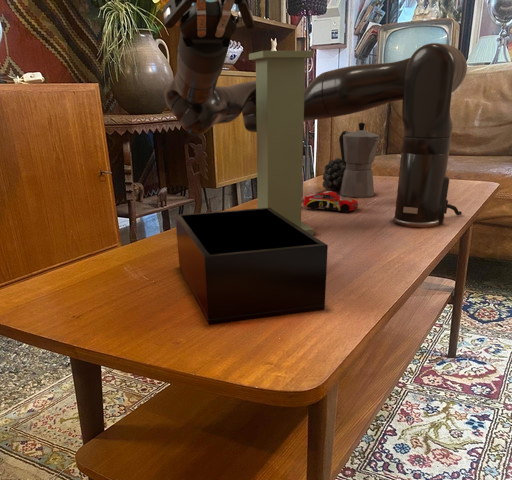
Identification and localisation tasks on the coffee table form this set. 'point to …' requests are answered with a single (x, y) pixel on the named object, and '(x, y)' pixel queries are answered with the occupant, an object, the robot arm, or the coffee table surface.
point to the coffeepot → (358, 162)
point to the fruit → (333, 175)
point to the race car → (329, 201)
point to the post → (280, 131)
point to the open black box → (250, 264)
